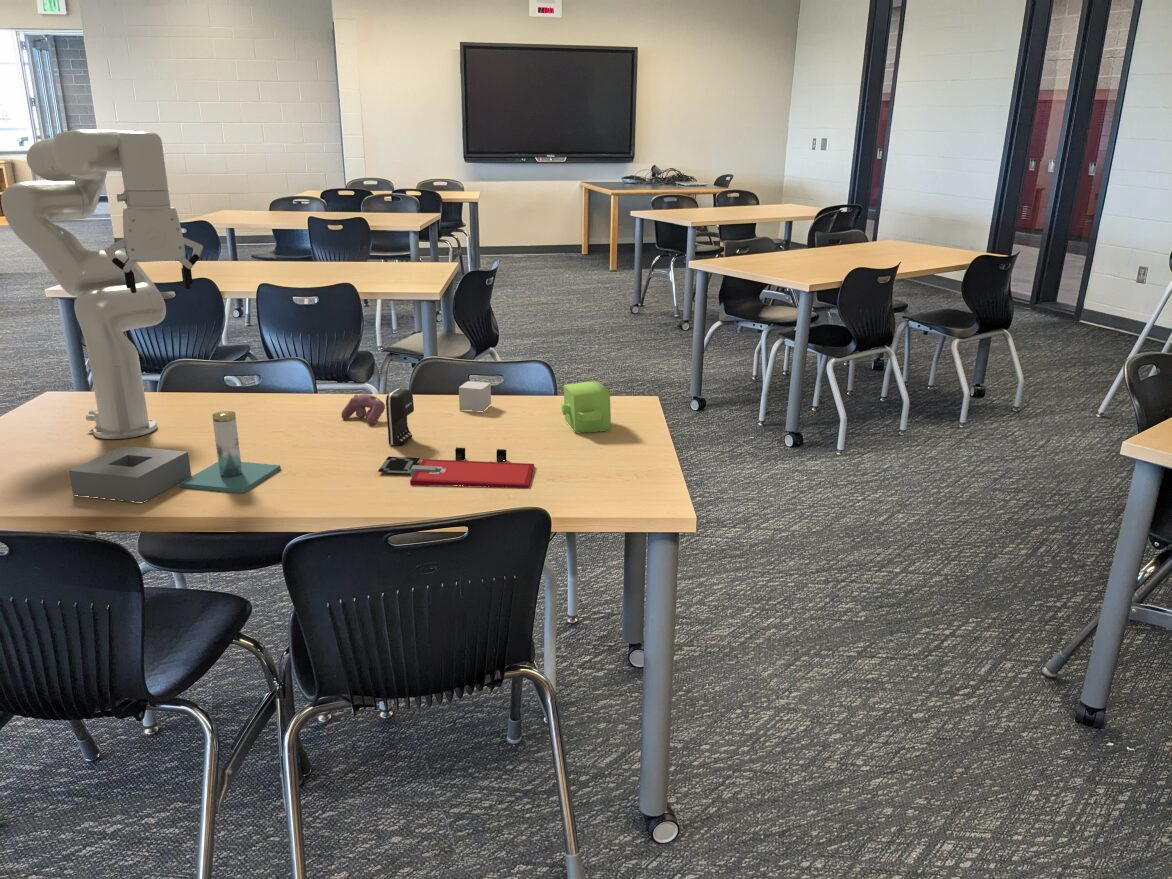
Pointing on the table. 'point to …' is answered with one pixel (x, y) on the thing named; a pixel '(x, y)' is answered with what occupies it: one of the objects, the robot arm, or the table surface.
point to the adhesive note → (474, 396)
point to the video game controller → (360, 404)
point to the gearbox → (587, 407)
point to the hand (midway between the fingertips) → (160, 290)
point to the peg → (227, 444)
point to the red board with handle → (462, 471)
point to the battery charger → (399, 415)
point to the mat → (231, 478)
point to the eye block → (130, 473)
